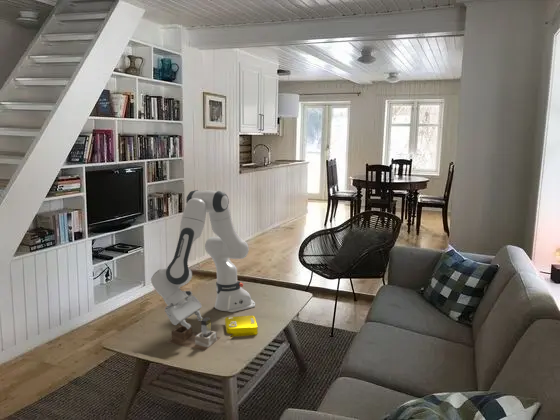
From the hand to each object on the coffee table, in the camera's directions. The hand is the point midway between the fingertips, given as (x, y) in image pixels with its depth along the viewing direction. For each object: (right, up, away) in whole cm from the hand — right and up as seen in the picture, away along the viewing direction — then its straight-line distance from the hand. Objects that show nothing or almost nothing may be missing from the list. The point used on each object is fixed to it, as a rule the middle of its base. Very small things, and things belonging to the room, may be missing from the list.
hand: (195, 324), depth 213 cm
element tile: (+19, -7, +17) cm, 27 cm away
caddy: (-1, -9, +2) cm, 9 cm away
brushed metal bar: (+5, -8, -1) cm, 10 cm away
